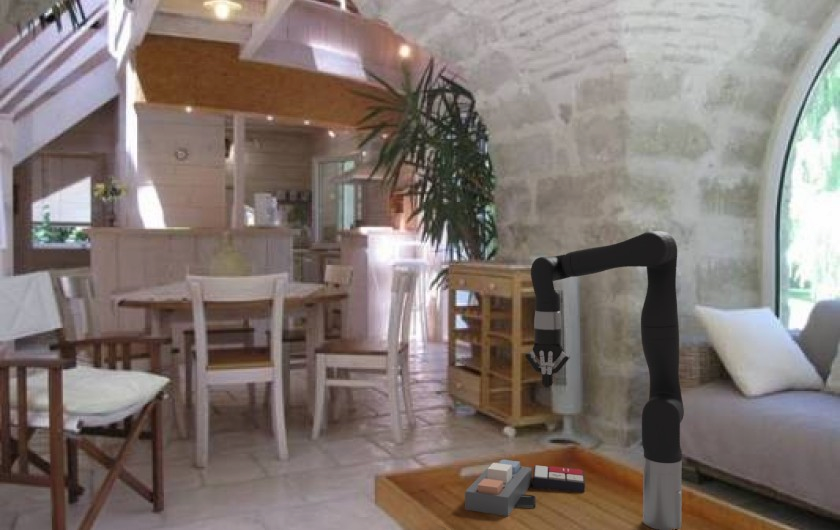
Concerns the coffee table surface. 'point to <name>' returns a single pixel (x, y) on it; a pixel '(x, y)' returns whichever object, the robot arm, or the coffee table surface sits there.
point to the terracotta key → (490, 486)
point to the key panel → (505, 499)
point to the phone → (526, 501)
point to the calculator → (558, 479)
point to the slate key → (514, 465)
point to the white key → (500, 472)
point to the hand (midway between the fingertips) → (547, 386)
